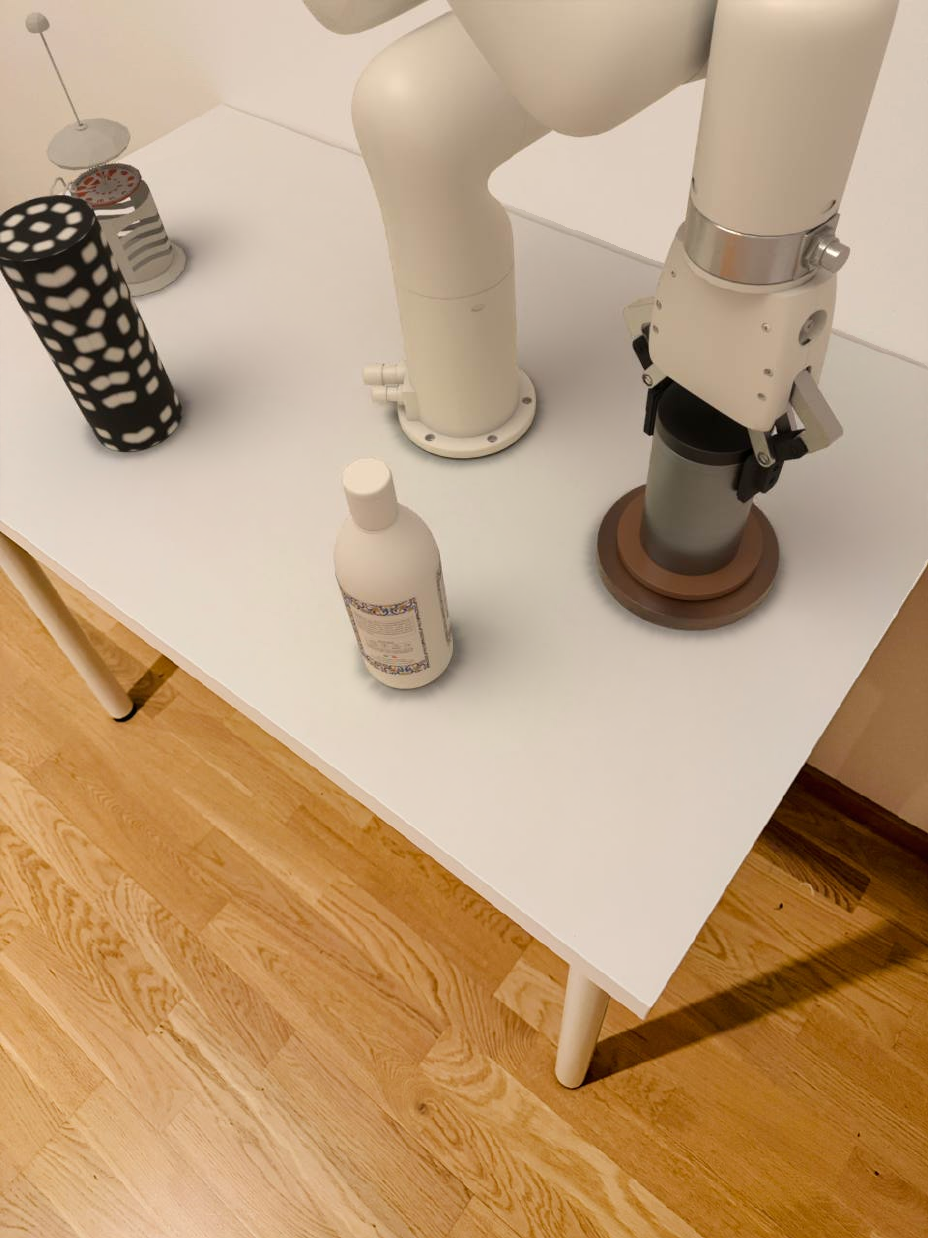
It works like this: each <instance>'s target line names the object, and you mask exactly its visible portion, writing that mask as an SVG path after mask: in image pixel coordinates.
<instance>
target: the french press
mask: <svg viewBox="0 0 928 1238" xmlns="http://www.w3.org/2000/svg"><path fill="white" fill-rule="evenodd" d="M24 22H25V28H26V29H27V31H28V33H30V34H39V35H40V37H41V40H42V42H43V45H44V46H45V49H46V51H47V53H48V56H49V58H50V60H51V64H52V65H53V68H54V70H55V72H56V74H57V77H58V80H59V81H60V84H61V87H62V88H63V91H64V93H65V95H66V98H67V100H68V102H69V105H70V107H71V109H72V112H73V114H74V116H75V119H76V121H75V122H72V123H69V124H67V125H65V126H64V127H63V128H62V129H61V130H60V131H59V132H56V134H55V135H54V136H53V137H52V139H51V140H50V142H49V144H48V146H47V148H46V150H45V153H46V156H47V158H48V160H49V161H50V163H52V164H54V165H55V166H56V167H58V168H60V169H63V170H67V171H73V172H74V171H82V170H85V171H84V172H81V173H80V174H79V175H78V177H76V178H75V179H74V180H70V181H68V182H67V183H66V182H65V180H64V178H63V177H61V176H58V177H56V178H55V179H54V181H53V183H52V184H51V187H50V190H49V196H51V195H54V189H55V187H56V185H57V183H58V181H60V182H61V183H62V185H63V188H64V189H63V191H62V194H61V195H66V193H67V191H68V192H69V193H70V196H74V197H77V198H80V199H83V200H84V201H86V202H88V203H89V204H90V205H91V206H92V208H93V210H94V212H95V211H116V210H125V209H129V208H133V209H134V210H133V211H131V212H128V213H120V214H98V215H97V214H96V217H97V219H98V221H99V223H100V226H101V228H102V230H103V232H104V234H105V237H106V239H107V241H108V243H109V246H110V248H111V250H112V252H113V255H114V257H115V259H116V261H117V263H118V266H119V268H120V270H121V272H122V275H123V277H124V279H125V281H126V283H127V286H128V288H129V290H130V292H131V295H132V297H137V296H138V297H139V296H140V297H141V296H145V295H148V294H151V293H153V292H154V293H155V292H157V291H160V290H162V289H164V288H165V287H166V286H168V285H170V284H171V283H173V282H175V281H176V280H177V278H178V277H179V276H180V275H181V274H182V273H183V272H184V270H185V267H186V262H187V256H186V255H185V252H184V250H183V248H181V247H180V246H178V245H176V244H175V243H174V242H172V241H170V238H169V236H168V234H167V231H166V228H165V225H164V224H163V220H162V218H161V215H160V213H159V210H158V209H159V208H158V207H157V205H156V202H155V200H154V199H155V198H154V197H153V194H152V192H151V190H150V187H149V185H148V184H147V182H146V181H145V180H144V179H143V176H142V174H141V172H140V170H139V169H138V168H136V167H135V166H133V165H131V164H128V163H127V164H125V163H120V162H118V163H117V162H114V163H113V162H112V163H109V162H111V161H113V160H115V159H117V158H119V157H120V156H121V154H122V153H124V151H126V150H127V148H128V146H129V144H130V140H131V133H130V131H129V129H128V127H127V126H126V125H124V124H122V123H120V122H119V121H116V120H111V119H108V118H102V117H100V118H85V119H80V118H79V116H78V114H77V111H76V109H75V107H74V104H73V102H72V99H71V97H70V95H69V93H68V90H67V88H66V86H65V83H64V80H63V78H62V76H61V73H60V72H59V71H60V70H59V69H58V67H57V65H56V62H55V60H54V57H53V55H52V52H51V50H50V47H49V45H48V44H47V41H46V39H45V36H44V32H45V31H46V32H47V31H48V30H49V29H50V27H51V25H50V22H49V20H48V18H47V17H46V16H45V15H44V14H42V13H41V12H31V13H29V14H27V16H26V18H25V21H24ZM127 199H130V200H127ZM125 200H127V201H125ZM120 232H121V233H122V232H128V233H126V234H125V235H118V234H119V233H120Z"/></svg>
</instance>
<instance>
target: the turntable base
mask: <svg viewBox="0 0 928 1238" xmlns="http://www.w3.org/2000/svg"><path fill="white" fill-rule="evenodd" d="M645 490H646V483H644V484H641V485H639V486H637V487H635V488H632V489H631V490H629V491H627V492H626V493H624V494H623V495H622V496H621V497H620V498H619V499H617V500H616V501H615V502H614V503H613V504H612V505H611V506H610V507H609V508H608V510H607V512H606V513H605V515H604V517H603V519H602V521H601V523H600V524H599V529H598V533H597V540H596V549H595V550H596V551H595V555H596V557H595V558H596V565H597V569H598V573H599V576H600V578H601V580H602V582H603V584H604V585H605V587H606V589H607V590H608V592H609V594H611V595H612V597H614V599H615V600H616V601H617V602H618V603H620V605H621V606H623V607H624V608H626V610H628V611H629V612H630V613H632V614H634V615H635V616H638V617H639V618H641V619H643V620H645V621H648V622H649V623H652V624H655V625H658V626H661V627H665V628H670V629H674V630H683V631H704V630H710V629H711V630H712V629H716V628H720V627H724V626H727V625H730V624H732V623H735V622H737V621H739V620H741V619H742V618H744V617H746V616H748V615H749V614H750V613H752V612H753V611H754V610H756V608H757V607H759V606H760V605H761V604H762V602H763V601H764V600H765V598H766V597H767V596H768V595H769V593H770V591H771V588H772V586H773V584H774V581H775V578H776V576H777V573H778V569H779V565H780V560H781V559H780V545H779V540H778V539H779V538H778V536H777V533H776V531H775V529H774V527H773V525H772V523H771V522H770V520H769V519H768V517H767V516H766V515H765V512H763V511H762V510H761V508H759V507H758V505H756V504H755V503H754V501H753V502H752V505H751V508H750V512H751V513H752V514H753V516H754V517H755V519H756V521H757V522H758V525H759V527H760V530H761V534H762V543H763V545H762V553H761V556H760V559H759V562H758V565H757V567H756V569H755V571H754V572H753V574H752V575H751V577H750V578H749V579H748V580H747V581H746V582H745V583H744V584H743V585H741V586H740V587H739V588H737V589H735V590H734V591H732V592H730V593H728V594H725V595H723V596H720V597H716V598H713V599H706V600H682V599H675V598H671V597H668V596H664V595H662V594H659V593H657V592H655V591H653V590H651V589H649V588H647V587H646V586H644V585H643V584H641V583H640V582H639V581H638V580H636V579H635V578H634V577H633V576H632V575H631V574H630V572H629V571H628V570H627V569H626V567H625V566H624V564H623V562H622V560H621V558H620V556H619V552H618V548H617V530H618V525H619V521H620V519H621V516H622V514H623V513H624V511H625V509H626V508H627V507H628V506H629V504H630V503H631V502H632V501H633V500H635V499H636V498H637V497H638V496H640V495H641V494H643V493H645Z"/></svg>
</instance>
